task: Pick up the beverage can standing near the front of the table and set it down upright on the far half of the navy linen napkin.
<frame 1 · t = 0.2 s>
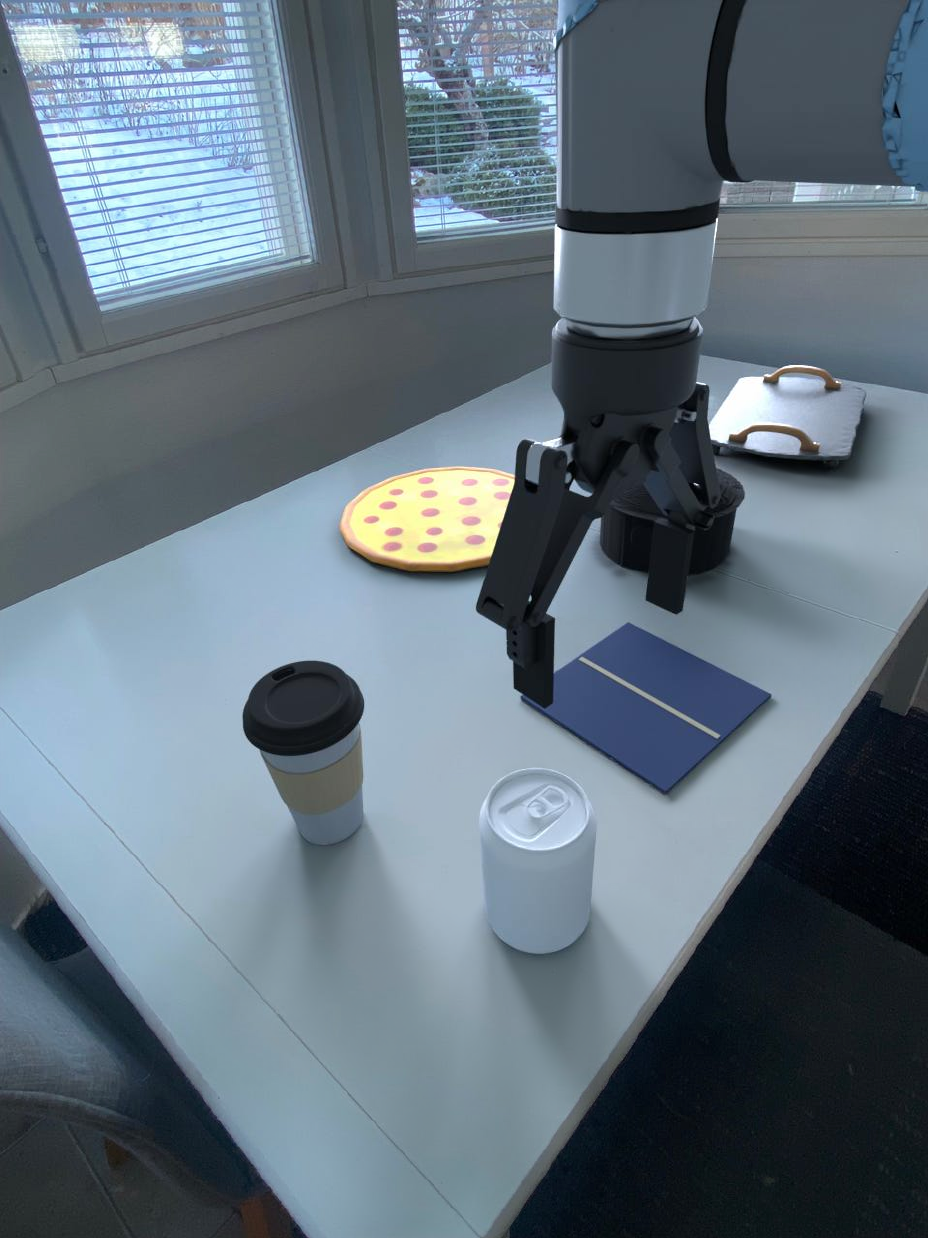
hand: (603, 647, 49), 21 cm above the table, tool pointing down, fingers open, 13 cm apart
serving tray: (785, 428, 130), on the table
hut: (662, 544, 100), on the table
coffee cup: (331, 820, 65), on the table
beverage can: (536, 910, 57), on the table
napkin: (644, 698, 75), on the table
pizza: (446, 517, 109), on the table
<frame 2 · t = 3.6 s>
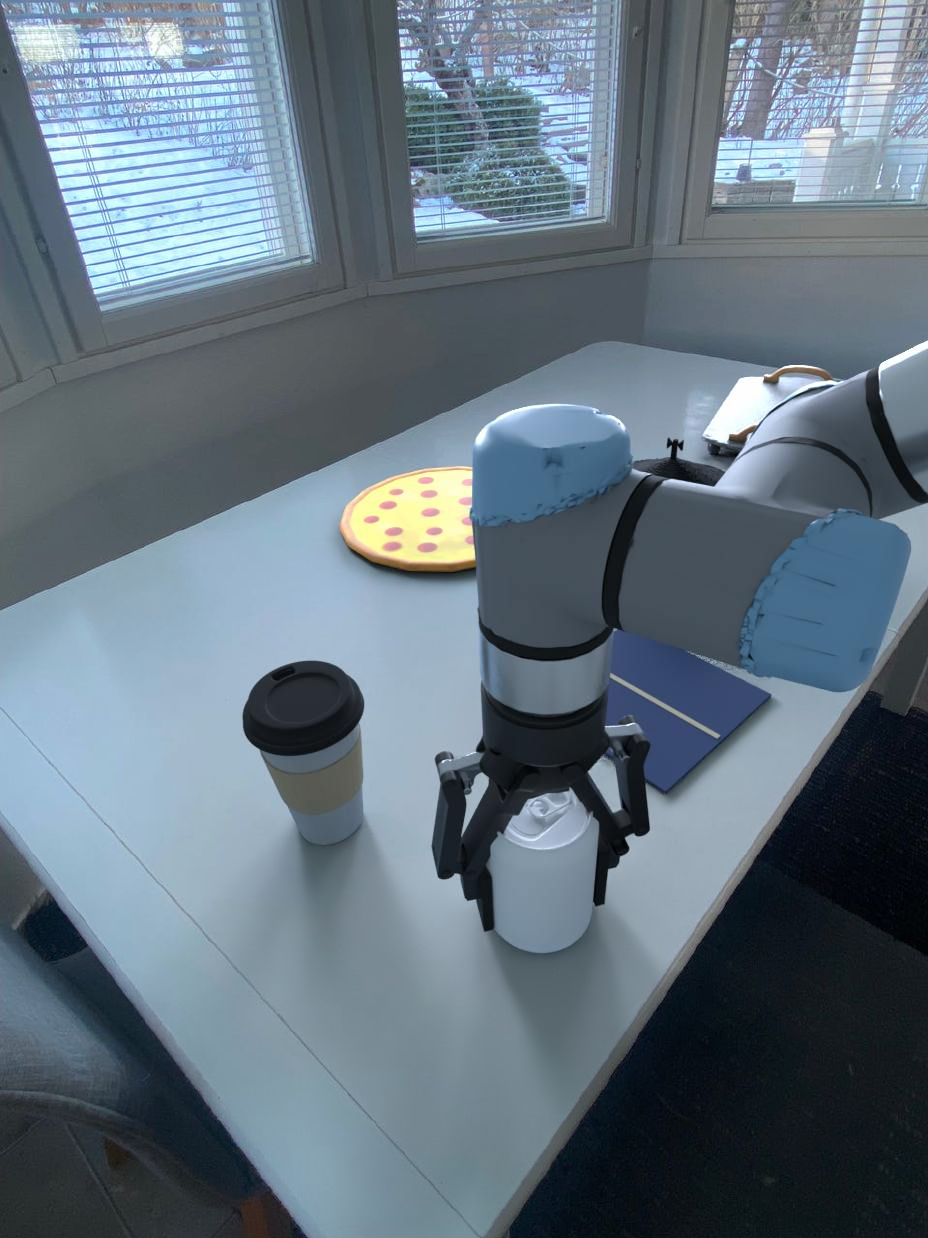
hand: (539, 902, 56), 1 cm above the table, tool pointing down, fingers closed on beverage can, 8 cm apart
beverage can: (538, 909, 57), on the table, touching gripper
everything else where it was.
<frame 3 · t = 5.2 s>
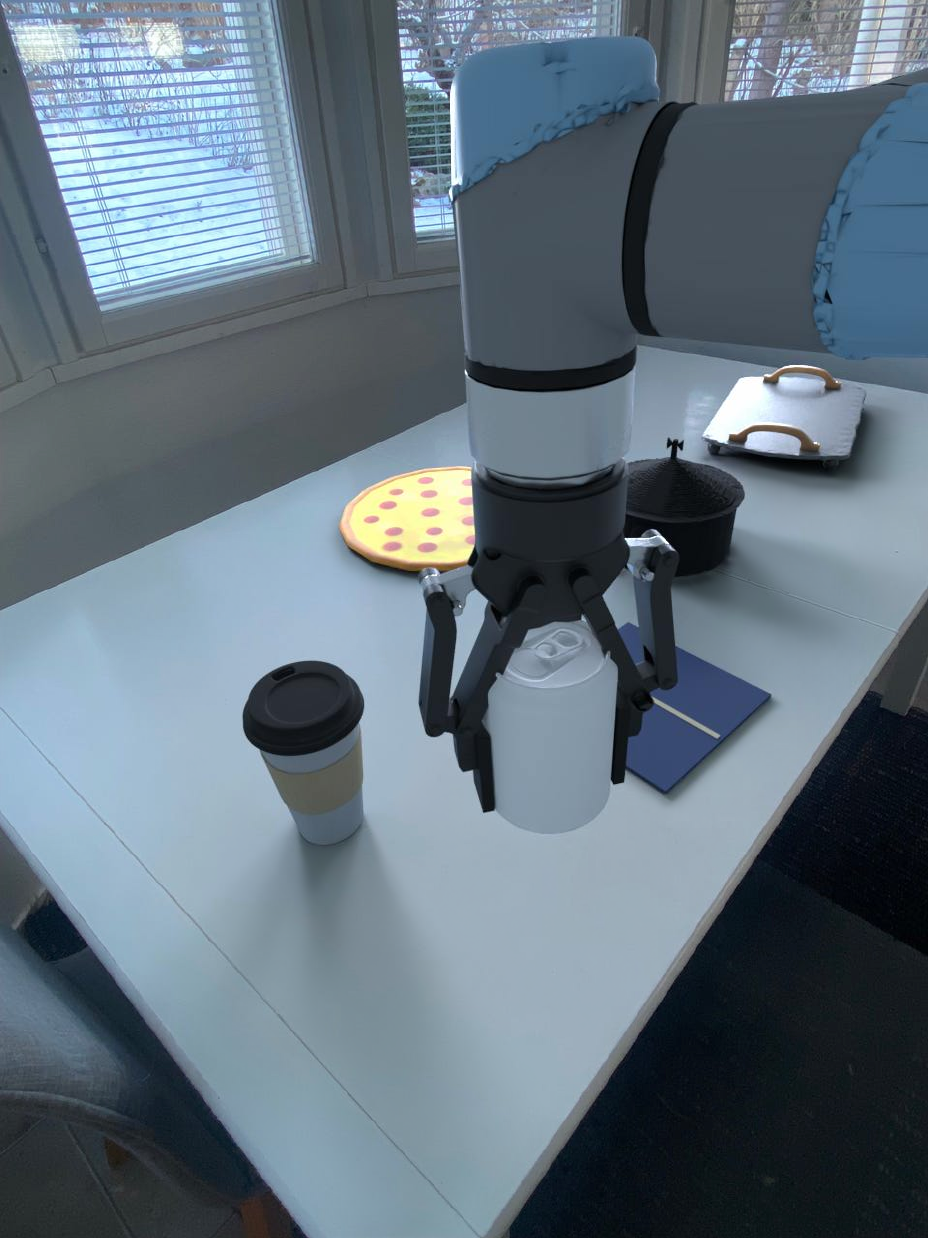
hand: (548, 782, 48), 15 cm above the table, tool pointing down, fingers closed on beverage can, 8 cm apart
beverage can: (547, 792, 48), point 14 cm above the table, touching gripper
everything else where it was.
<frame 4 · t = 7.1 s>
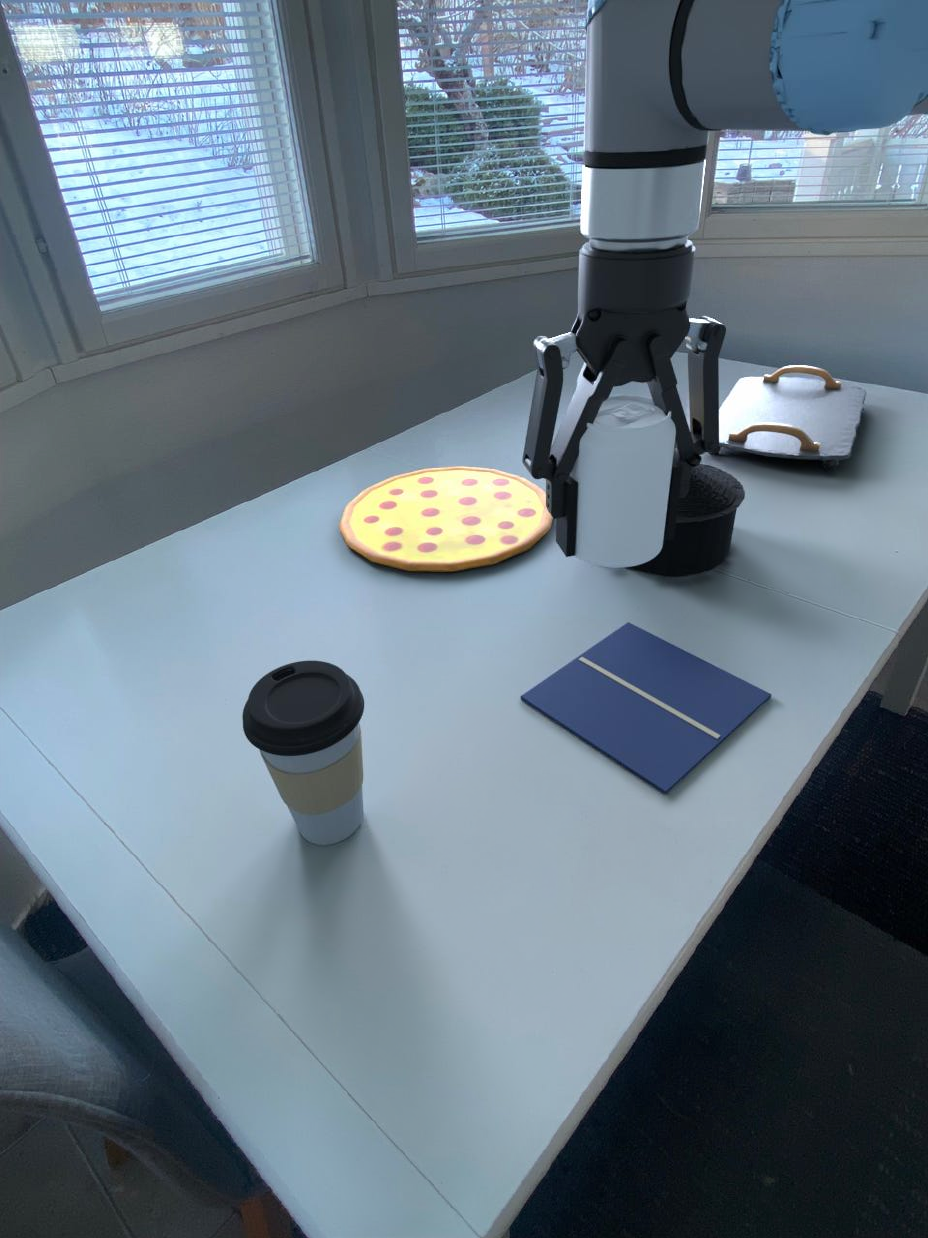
hand: (614, 539, 61), 20 cm above the table, tool pointing down, fingers closed on beverage can, 8 cm apart
beverage can: (612, 550, 62), point 19 cm above the table, touching gripper
everything else where it was.
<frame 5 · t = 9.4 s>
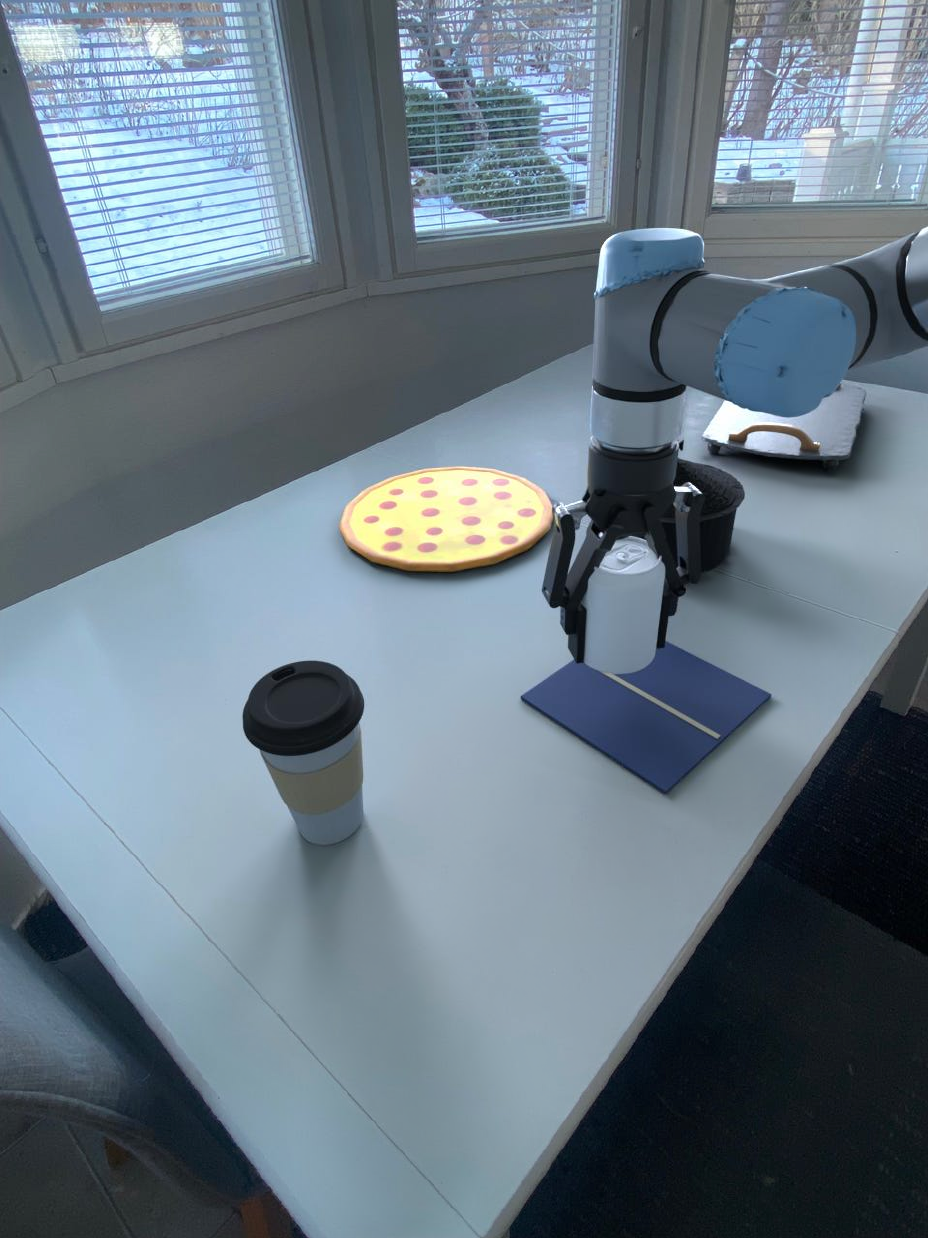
hand: (615, 647, 75), 4 cm above the table, tool pointing down, fingers closed on beverage can, 8 cm apart
beverage can: (614, 654, 76), point 3 cm above the table, touching gripper
everything else where it was.
when the fingers open (1 cm above the table, at t = 10.8 s): beverage can stays where it is, resting on napkin.
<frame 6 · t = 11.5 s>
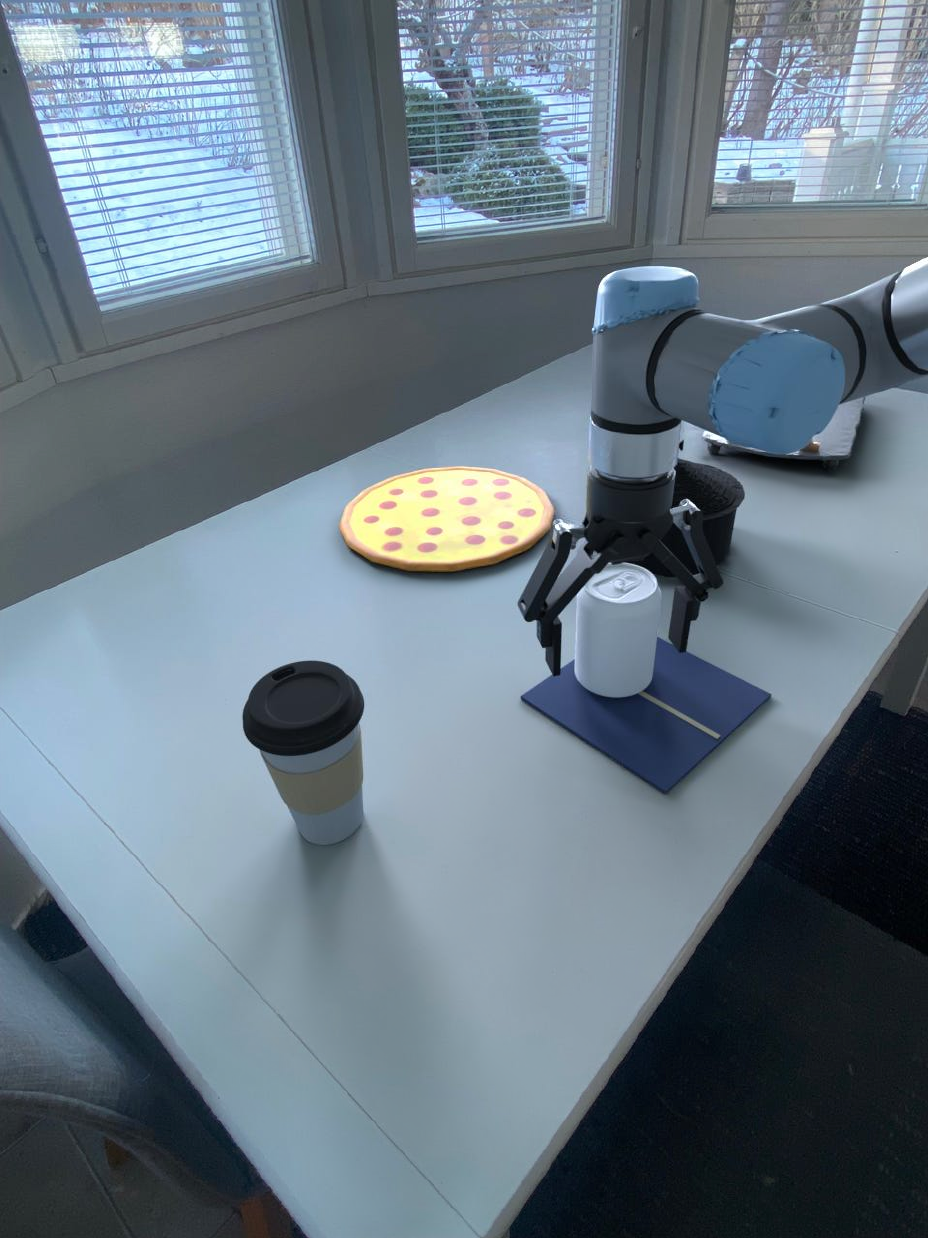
hand: (615, 656, 76), 3 cm above the table, tool pointing down, fingers open, 13 cm apart
beverage can: (612, 677, 77), resting on napkin
everything else where it was.
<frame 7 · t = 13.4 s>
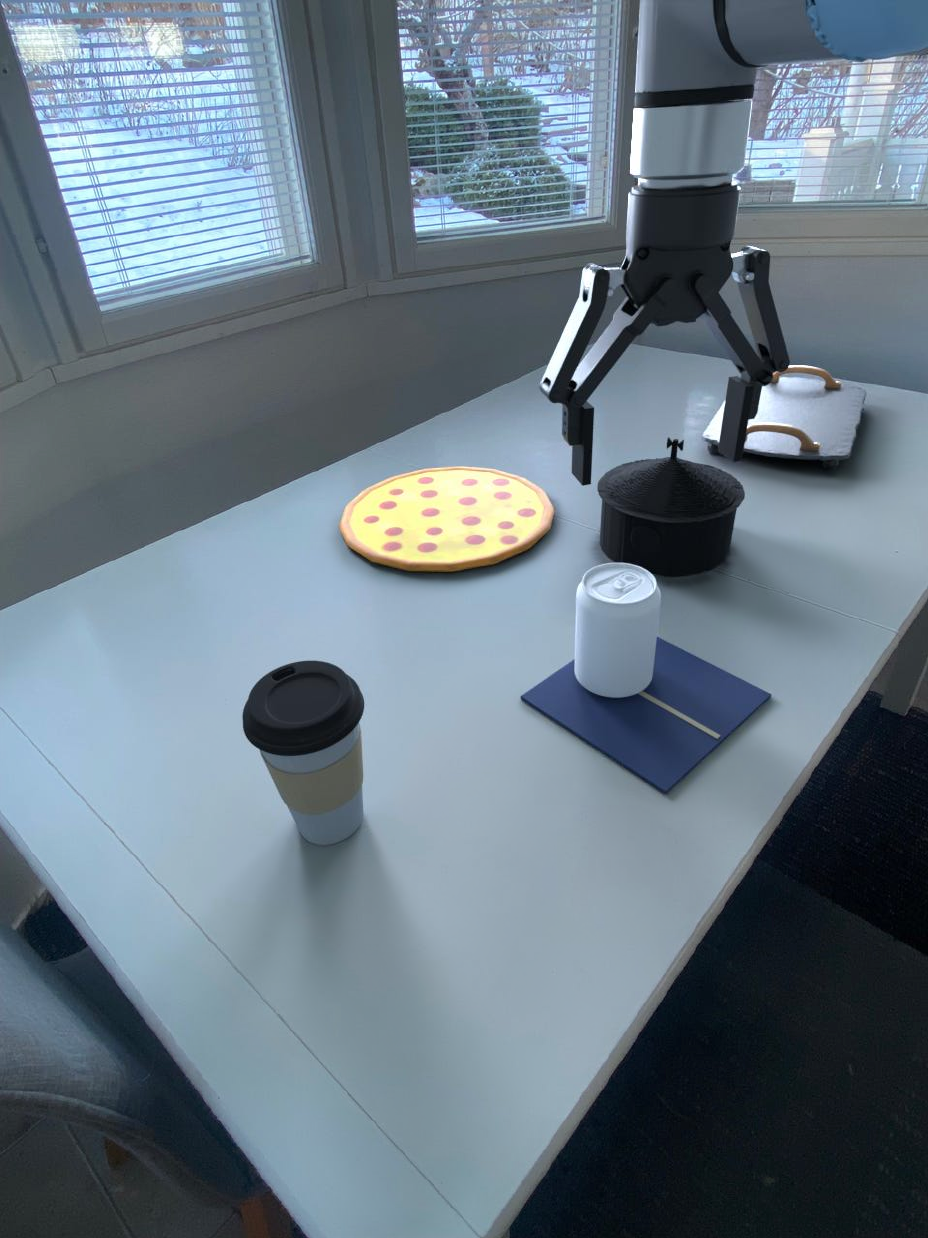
hand: (656, 467, 63), 24 cm above the table, tool pointing down, fingers open, 13 cm apart
nothing on the table moved.
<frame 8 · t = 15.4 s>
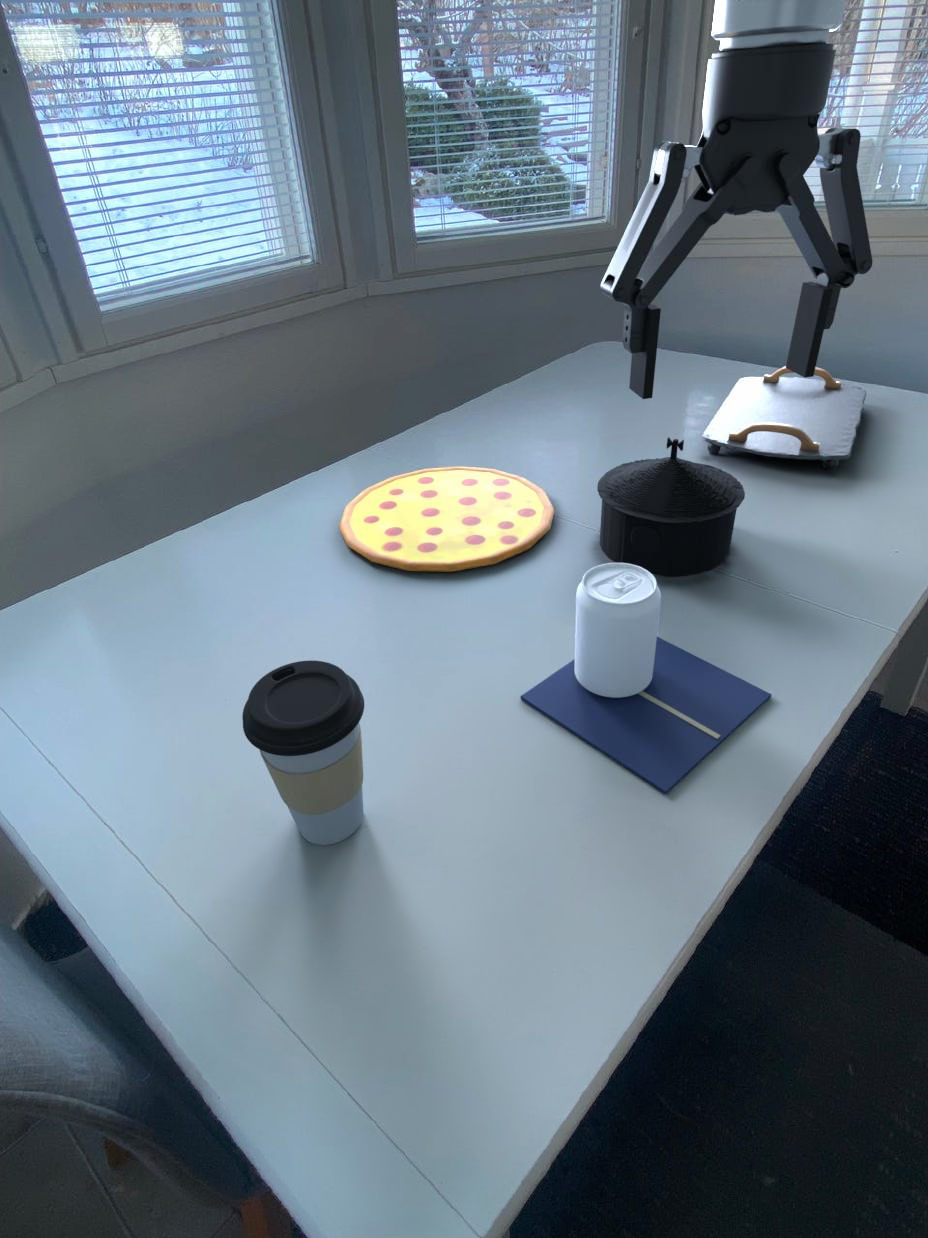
hand: (721, 382, 58), 32 cm above the table, tool pointing down, fingers open, 13 cm apart
nothing on the table moved.
at the end: beverage can inside the target area on the napkin (0.7 cm from its centre), point 0.3 cm above the napkin's base; beverage can tilted 1°; the gripper is holding nothing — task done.
